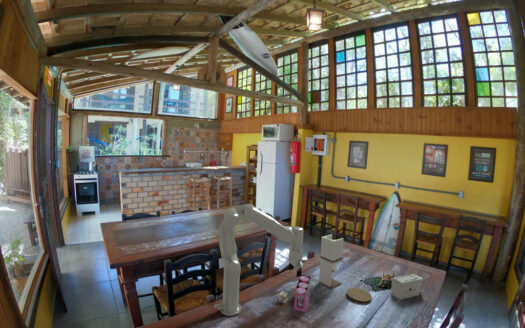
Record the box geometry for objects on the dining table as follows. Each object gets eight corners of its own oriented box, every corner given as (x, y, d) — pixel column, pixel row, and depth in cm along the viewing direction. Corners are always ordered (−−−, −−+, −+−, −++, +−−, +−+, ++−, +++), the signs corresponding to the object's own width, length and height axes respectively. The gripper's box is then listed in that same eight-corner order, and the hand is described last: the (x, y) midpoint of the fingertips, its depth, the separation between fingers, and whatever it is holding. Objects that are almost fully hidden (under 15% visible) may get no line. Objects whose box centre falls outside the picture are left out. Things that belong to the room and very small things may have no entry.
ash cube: (285, 296, 170) (285, 303, 170) (288, 293, 174) (287, 300, 175) (278, 294, 172) (278, 301, 172) (281, 291, 176) (281, 298, 176)
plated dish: (388, 273, 220) (388, 264, 220) (418, 291, 194) (419, 281, 194) (353, 279, 208) (353, 270, 207) (381, 299, 182) (382, 288, 181)
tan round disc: (355, 306, 171) (355, 302, 170) (341, 293, 186) (341, 289, 186) (376, 303, 175) (377, 299, 175) (361, 290, 190) (361, 286, 190)
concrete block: (412, 290, 193) (414, 263, 191) (423, 297, 185) (425, 268, 183) (390, 295, 185) (392, 267, 184) (400, 302, 177) (402, 272, 176)
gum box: (305, 313, 161) (306, 293, 160) (293, 311, 163) (294, 290, 162) (310, 294, 182) (311, 276, 181) (299, 292, 184) (300, 274, 184)
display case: (331, 290, 189) (334, 241, 186) (318, 283, 197) (321, 236, 194) (340, 285, 196) (343, 238, 193) (328, 279, 204) (331, 234, 202)
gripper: (284, 242, 176) (283, 267, 178) (298, 252, 161) (296, 280, 162) (294, 241, 179) (293, 266, 181) (309, 251, 163) (307, 278, 165)
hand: (294, 273), depth 171 cm, fingers open, 9 cm apart
